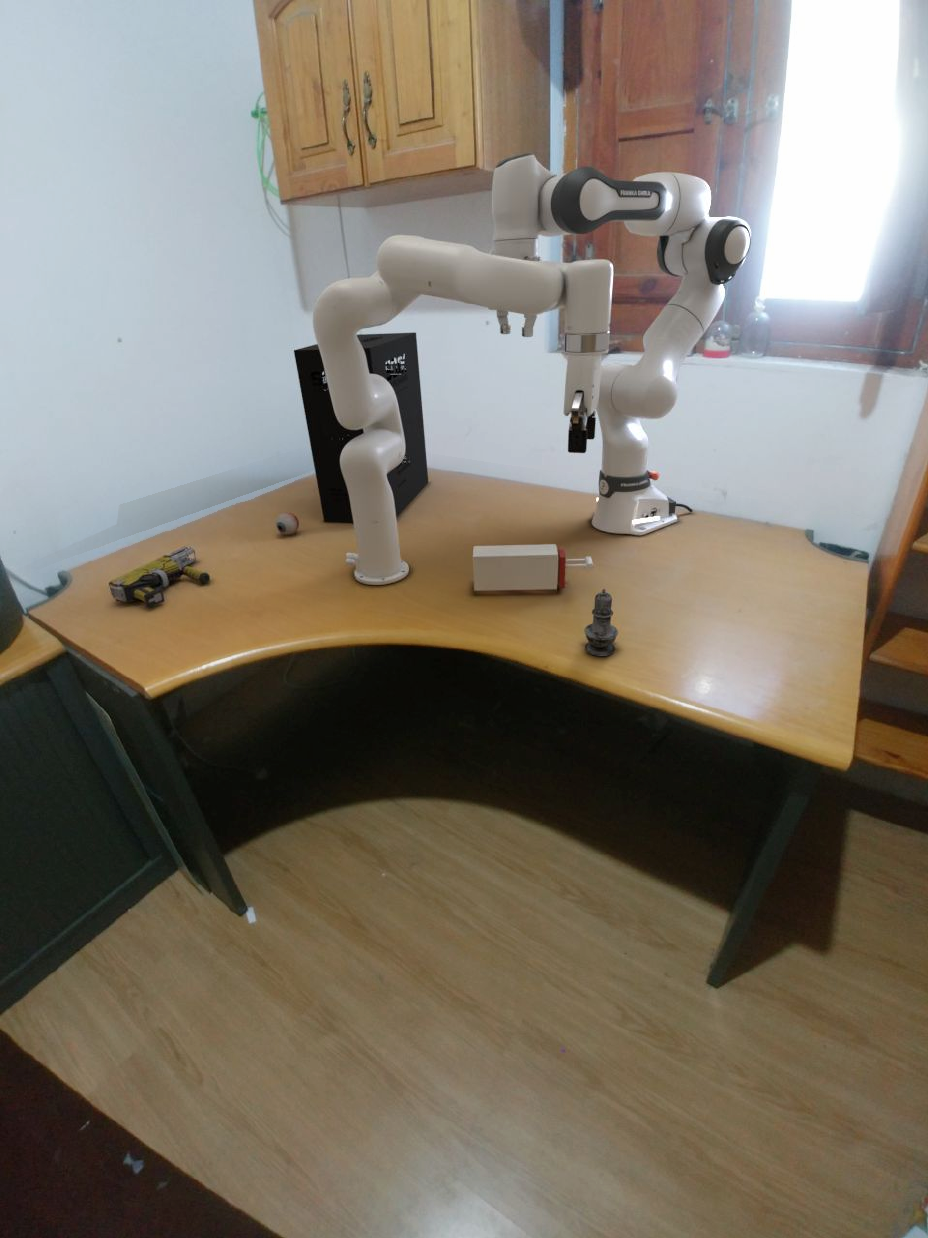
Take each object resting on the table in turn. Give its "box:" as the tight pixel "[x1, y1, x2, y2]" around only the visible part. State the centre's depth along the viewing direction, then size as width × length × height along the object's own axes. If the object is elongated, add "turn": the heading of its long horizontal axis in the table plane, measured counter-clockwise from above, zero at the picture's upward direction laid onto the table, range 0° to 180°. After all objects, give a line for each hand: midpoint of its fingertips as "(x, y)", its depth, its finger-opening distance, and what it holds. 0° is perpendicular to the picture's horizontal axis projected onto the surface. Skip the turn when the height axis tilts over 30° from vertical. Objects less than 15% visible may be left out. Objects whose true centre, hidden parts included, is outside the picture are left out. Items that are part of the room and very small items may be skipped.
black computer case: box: [293, 332, 429, 523], centre depth 175 cm, size 38×20×45 cm, turn 167°
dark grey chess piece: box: [583, 588, 619, 657], centre depth 105 cm, size 6×6×12 cm
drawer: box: [557, 548, 595, 589], centre depth 128 cm, size 22×4×7 cm, turn 87°
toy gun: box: [108, 545, 211, 609], centre depth 140 cm, size 5×24×15 cm
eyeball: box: [275, 511, 300, 536], centre depth 163 cm, size 6×6×6 cm
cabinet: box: [472, 543, 558, 596], centre depth 128 cm, size 18×6×9 cm, turn 87°
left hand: (581, 445), depth 111 cm, fingers open, 9 cm apart
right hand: (516, 335), depth 125 cm, fingers open, 8 cm apart
